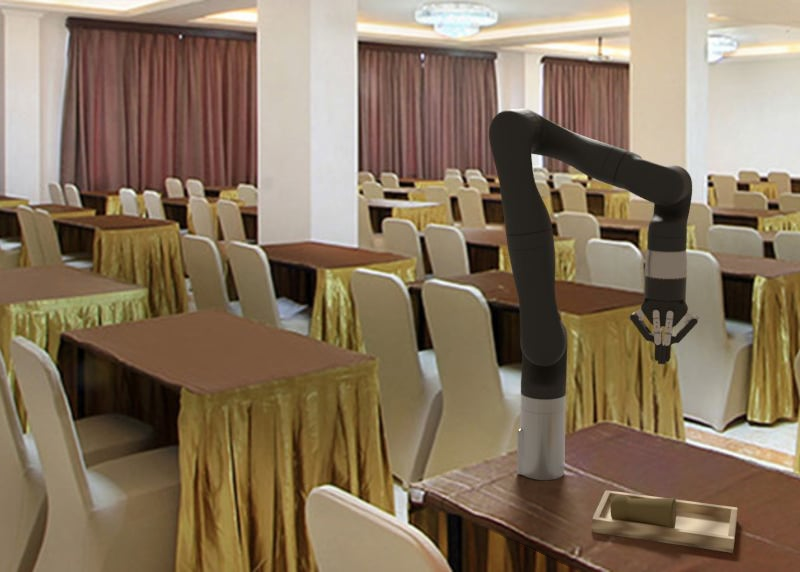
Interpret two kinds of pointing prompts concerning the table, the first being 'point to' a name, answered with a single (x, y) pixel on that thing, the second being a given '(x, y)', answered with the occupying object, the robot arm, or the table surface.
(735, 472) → the table surface
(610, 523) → the birch tray
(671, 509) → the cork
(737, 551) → the table surface
